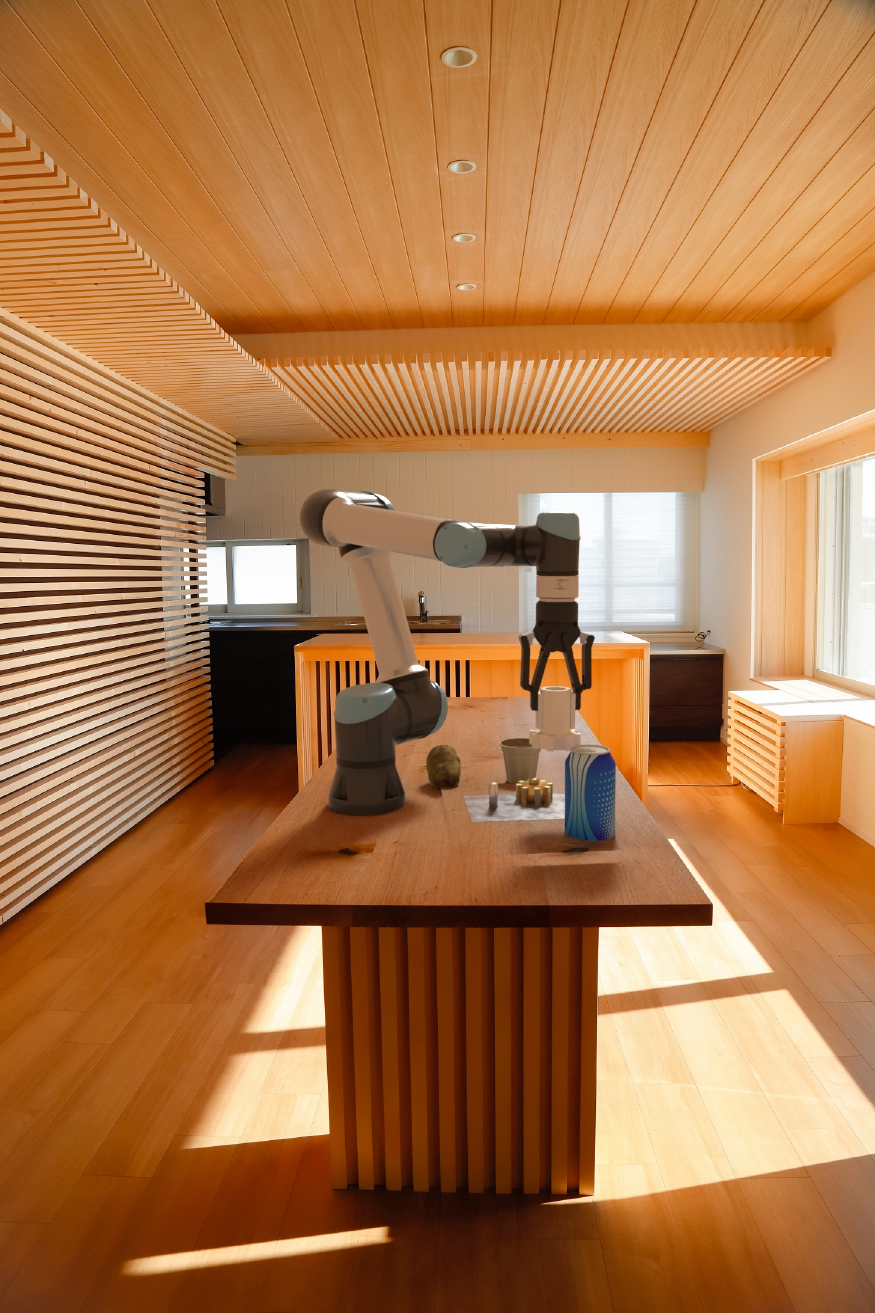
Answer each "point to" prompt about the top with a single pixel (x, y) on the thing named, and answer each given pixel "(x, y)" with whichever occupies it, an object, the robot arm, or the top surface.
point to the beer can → (590, 793)
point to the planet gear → (555, 721)
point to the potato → (443, 767)
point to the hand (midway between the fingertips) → (555, 727)
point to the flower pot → (519, 759)
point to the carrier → (518, 803)
